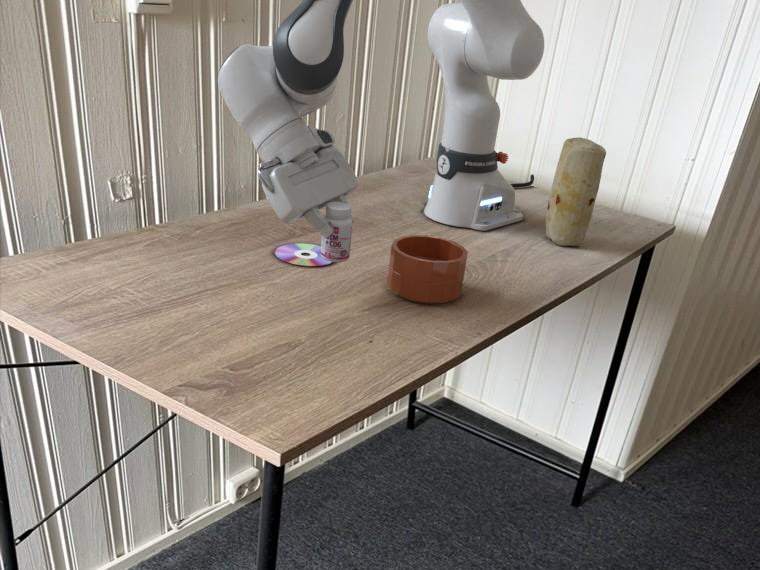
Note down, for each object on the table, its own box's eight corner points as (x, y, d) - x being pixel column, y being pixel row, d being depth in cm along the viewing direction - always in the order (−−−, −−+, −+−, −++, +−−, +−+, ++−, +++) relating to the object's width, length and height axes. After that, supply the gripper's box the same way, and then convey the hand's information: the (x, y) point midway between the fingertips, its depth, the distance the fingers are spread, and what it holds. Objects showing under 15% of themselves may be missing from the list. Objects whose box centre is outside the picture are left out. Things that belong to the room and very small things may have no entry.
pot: (429, 272, 151) (435, 231, 146) (475, 299, 143) (483, 256, 138) (372, 282, 144) (377, 239, 139) (417, 311, 136) (423, 266, 132)
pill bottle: (322, 262, 133) (325, 209, 128) (318, 251, 137) (321, 199, 132) (351, 263, 134) (356, 210, 129) (347, 252, 138) (351, 201, 133)
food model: (589, 245, 173) (615, 144, 161) (574, 252, 168) (600, 148, 156) (548, 232, 177) (571, 132, 165) (533, 238, 173) (555, 136, 161)
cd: (262, 251, 150) (262, 250, 150) (305, 239, 157) (306, 239, 157) (305, 271, 144) (305, 270, 144) (349, 258, 152) (349, 257, 152)
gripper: (265, 153, 120) (320, 236, 123) (336, 130, 135) (382, 205, 138) (240, 178, 124) (293, 258, 127) (311, 153, 139) (357, 225, 142)
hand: (340, 230), depth 133 cm, fingers closed on pill bottle, 5 cm apart
